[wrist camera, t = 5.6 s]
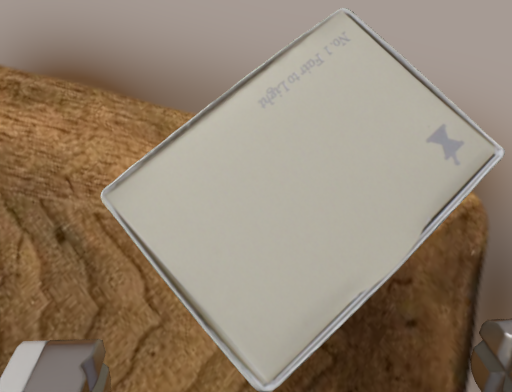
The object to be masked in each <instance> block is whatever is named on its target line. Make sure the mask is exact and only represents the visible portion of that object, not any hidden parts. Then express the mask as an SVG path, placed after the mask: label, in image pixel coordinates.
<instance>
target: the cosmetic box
mask: <svg viewBox="0 0 512 392" xmlns="http://www.w3.org/2000/svg"><path fill="white" fill-rule="evenodd" d="M504 154H505V150H504V149H503V148H502V147H501V146H500V145H499V144H497V143H496V142H495V141H494V140H493V139H492V138H491V137H489V136H488V135H487V134H486V133H485V132H484V131H483V130H482V129H481V128H480V127H479V126H478V125H477V124H476V123H475V122H474V121H472V119H470V118H469V117H468V116H467V115H466V114H465V113H464V112H463V111H462V110H460V109H459V108H458V107H457V106H456V105H455V103H454V102H453V101H451V100H450V99H449V98H447V96H446V95H445V94H444V93H443V92H442V91H441V90H440V89H438V88H437V87H436V86H435V85H434V84H433V83H432V82H430V81H429V80H428V79H427V78H426V77H425V76H424V75H423V74H422V73H421V72H420V71H418V70H417V69H416V68H415V67H414V66H413V65H412V64H411V63H410V62H409V61H408V60H406V58H405V57H404V56H403V55H401V54H400V53H399V52H398V51H397V50H396V49H394V48H393V47H392V46H391V45H390V44H388V43H387V42H386V41H385V40H384V39H383V38H382V37H381V36H380V35H378V34H377V33H376V32H375V31H374V30H373V29H371V27H369V26H368V25H367V24H366V23H365V22H363V21H362V20H361V19H360V18H359V17H358V16H357V15H356V14H355V13H354V12H352V11H351V10H349V9H347V8H341V9H339V10H337V11H336V12H334V13H333V14H331V15H330V16H329V17H327V18H325V19H324V20H322V21H321V22H320V23H318V24H317V25H315V26H314V27H313V28H311V29H310V30H308V31H307V32H305V33H304V34H302V35H301V36H299V37H298V38H297V39H295V40H294V41H293V42H291V43H290V44H289V45H287V46H286V47H285V48H283V49H282V50H280V51H279V52H277V53H276V54H275V55H274V56H272V57H271V58H270V59H269V60H267V61H266V62H264V63H263V64H262V65H260V66H259V67H258V68H256V69H255V70H254V71H253V72H251V73H250V74H248V75H247V76H246V77H244V78H243V79H242V80H240V81H239V82H238V83H236V84H235V85H234V86H233V87H232V88H231V89H229V90H228V91H227V92H225V93H224V94H223V95H221V96H220V97H219V98H218V99H216V100H215V101H213V102H212V103H210V104H209V105H208V106H207V107H206V108H205V109H203V110H202V111H200V112H199V113H198V114H197V115H196V116H194V117H193V118H192V119H191V120H189V121H188V122H187V123H185V124H184V125H183V126H181V127H180V128H179V129H177V130H176V131H175V132H174V133H172V134H171V135H170V136H169V137H168V138H166V139H165V140H164V141H163V142H162V143H160V144H159V145H158V146H156V147H155V148H154V149H153V150H151V151H150V152H149V153H147V154H146V155H145V156H144V157H143V158H141V159H140V160H139V161H137V162H136V163H135V164H133V165H132V166H131V167H130V168H128V169H127V170H126V171H125V172H124V173H123V174H121V175H120V176H119V177H118V178H117V179H116V180H115V181H113V182H112V183H111V184H109V185H108V186H107V187H106V188H105V189H104V190H103V191H102V193H101V195H100V196H101V200H102V202H103V203H104V205H105V206H106V207H107V208H108V210H109V211H110V212H111V213H112V215H113V216H114V217H115V218H116V220H117V221H118V222H119V223H120V225H121V226H122V227H123V228H124V230H125V231H126V232H127V234H128V235H129V236H130V237H131V239H132V240H133V241H134V243H135V244H136V245H137V247H138V248H139V249H140V250H141V252H142V253H143V254H144V256H145V257H146V258H147V260H148V261H149V262H150V264H151V265H152V266H153V267H154V269H155V270H156V271H157V272H158V274H159V275H160V276H161V277H162V279H163V280H164V281H165V282H166V284H167V285H168V286H169V287H170V289H171V290H172V291H173V292H174V294H175V295H176V296H177V297H178V299H179V300H180V301H181V302H182V304H183V305H184V306H185V307H186V308H187V310H188V311H189V312H190V313H191V314H192V316H193V317H194V318H195V319H196V320H197V322H198V323H199V324H200V325H201V326H202V328H203V329H204V330H205V331H206V332H207V334H208V335H209V336H210V337H211V338H212V340H213V341H214V342H215V343H216V344H217V346H218V347H219V348H220V349H221V350H222V352H223V353H224V354H225V355H226V356H227V358H228V359H229V360H230V361H231V362H232V363H233V365H234V366H235V367H236V368H237V369H238V370H239V371H240V373H241V374H242V375H243V376H244V377H245V378H246V380H247V381H248V382H249V383H250V384H251V386H252V387H254V388H255V389H256V390H257V391H260V392H272V391H273V390H275V389H276V388H277V387H278V386H280V385H281V384H282V383H283V382H284V381H285V380H286V379H287V378H288V377H289V376H290V375H291V374H292V373H293V372H294V371H295V370H296V369H297V368H298V367H300V366H301V365H302V364H303V363H304V362H305V361H306V360H307V359H308V358H309V357H310V356H311V355H312V354H313V353H314V352H315V351H316V350H317V349H318V348H319V347H320V346H321V345H322V344H323V343H324V342H325V341H327V340H328V339H329V337H330V336H331V335H332V334H333V333H334V332H335V331H336V330H337V329H338V328H339V327H340V326H341V325H342V324H343V323H345V322H346V321H347V320H348V319H349V318H350V317H351V316H352V315H353V314H354V313H355V312H356V311H357V310H358V309H359V308H360V307H361V306H362V305H363V304H364V303H365V302H366V301H367V300H368V299H369V298H370V297H371V296H372V295H373V294H374V293H375V292H376V291H377V290H378V289H379V288H380V287H381V286H382V285H383V284H384V283H385V282H386V281H387V280H388V279H389V278H390V277H391V276H392V275H393V274H394V273H395V272H396V271H397V270H398V269H399V268H400V267H401V266H402V265H403V264H404V263H405V262H406V260H407V259H408V258H409V257H410V256H411V255H412V254H413V253H414V252H415V251H416V250H417V249H418V248H419V247H420V245H421V244H422V243H423V242H424V241H425V240H426V239H427V238H428V237H429V236H430V235H431V234H432V233H433V232H434V231H435V230H436V229H437V228H438V227H439V226H440V225H441V224H442V222H443V221H444V220H445V219H446V218H447V217H448V216H449V215H450V214H451V213H452V212H453V211H454V209H455V208H456V207H457V206H458V205H459V204H460V203H461V202H462V201H463V200H464V199H465V198H466V197H467V195H468V194H469V193H470V192H471V191H472V190H473V189H474V188H475V187H476V186H477V185H478V184H479V183H480V181H481V180H482V179H483V178H484V177H485V176H486V174H487V173H488V172H489V171H490V170H491V169H492V168H493V167H494V166H495V165H496V164H497V163H498V162H499V161H500V160H501V159H502V157H503V156H504Z"/></svg>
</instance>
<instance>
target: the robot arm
mask: <svg viewBox="0 0 512 392" xmlns="http://www.w3.org/2000/svg"><path fill="white" fill-rule="evenodd" d="M479 334H480V336H481V338H482V339H483V340H482V341H481V342H480V343H479V344H478V345H477V346H475V347H474V349H473V352H472V355H471V359H470V361H471V370H472V374H473V377H474V379H475V382H476V384H477V385H478V387H479V388H480V390H481V392H512V318H511V319H495V320H487V321H486V322H485V323H483V324H482V326H481V329H480V332H479ZM105 353H106V351H105V347H104V343H103V340H101V339H82V340H50V341H24V342H22V343H21V344H20V345H19V346H18V347H17V348H16V350H15V352H14V354H13V355H12V357H11V359H10V361H9V363H8V365H7V367H6V368H5V370H4V372H3V374H2V376H1V378H0V392H111V376H110V371H109V367H107V366H106V365H105V364H104V363H103V361H104V357H105Z"/></svg>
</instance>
